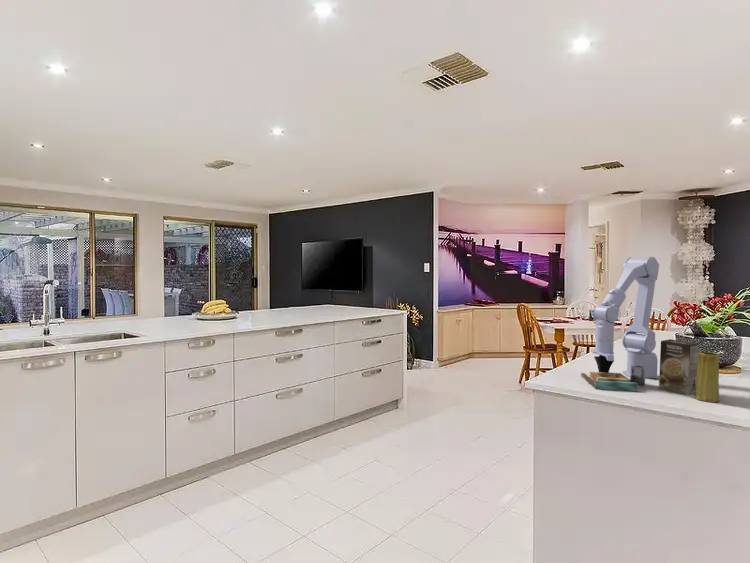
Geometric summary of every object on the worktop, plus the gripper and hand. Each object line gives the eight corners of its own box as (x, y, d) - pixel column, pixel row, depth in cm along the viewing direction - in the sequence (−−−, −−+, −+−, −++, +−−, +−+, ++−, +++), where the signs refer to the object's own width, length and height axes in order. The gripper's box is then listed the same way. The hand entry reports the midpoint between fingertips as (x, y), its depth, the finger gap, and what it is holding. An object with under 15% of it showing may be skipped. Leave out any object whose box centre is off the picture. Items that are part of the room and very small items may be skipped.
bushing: (641, 382, 160) (642, 365, 160) (647, 386, 156) (648, 368, 156) (628, 381, 161) (629, 364, 161) (633, 385, 157) (634, 367, 157)
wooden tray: (619, 381, 162) (620, 373, 161) (630, 388, 152) (630, 379, 152) (589, 379, 163) (589, 371, 163) (597, 387, 153) (597, 378, 153)
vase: (723, 403, 137) (725, 355, 136) (700, 401, 138) (702, 354, 138) (713, 397, 143) (714, 351, 142) (691, 396, 144) (692, 350, 144)
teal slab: (618, 378, 167) (618, 371, 167) (637, 391, 149) (637, 383, 149) (581, 376, 169) (581, 369, 169) (595, 388, 151) (595, 381, 151)
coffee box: (657, 388, 153) (659, 340, 153) (667, 385, 157) (668, 339, 156) (688, 395, 145) (689, 344, 145) (697, 392, 149) (699, 343, 148)
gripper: (587, 335, 171) (586, 372, 171) (598, 341, 157) (597, 381, 157) (607, 336, 170) (606, 373, 170) (620, 342, 155) (619, 382, 156)
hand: (603, 377), depth 164 cm, fingers closed
